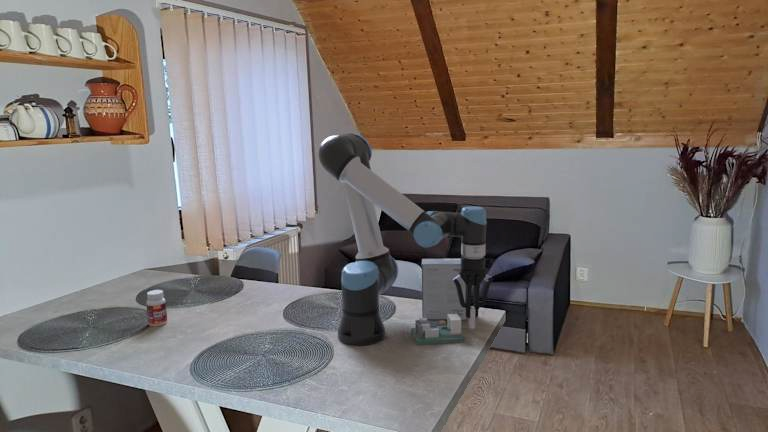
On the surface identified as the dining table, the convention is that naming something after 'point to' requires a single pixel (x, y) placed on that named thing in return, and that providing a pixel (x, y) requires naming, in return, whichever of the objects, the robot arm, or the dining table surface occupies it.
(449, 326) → the white open-sided box
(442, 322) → the grey rectangular bar
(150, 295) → the pill bottle
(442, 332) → the board
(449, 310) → the hard drive box
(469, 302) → the robot arm
